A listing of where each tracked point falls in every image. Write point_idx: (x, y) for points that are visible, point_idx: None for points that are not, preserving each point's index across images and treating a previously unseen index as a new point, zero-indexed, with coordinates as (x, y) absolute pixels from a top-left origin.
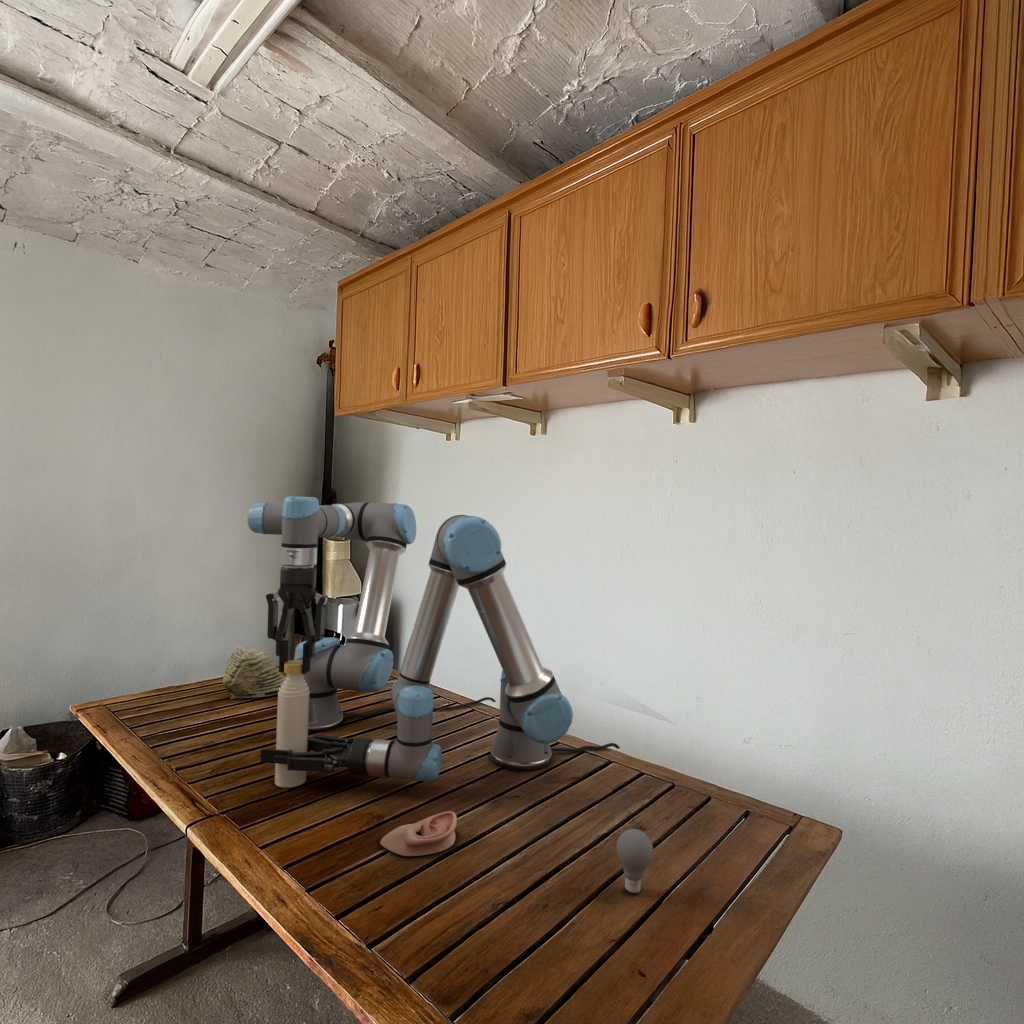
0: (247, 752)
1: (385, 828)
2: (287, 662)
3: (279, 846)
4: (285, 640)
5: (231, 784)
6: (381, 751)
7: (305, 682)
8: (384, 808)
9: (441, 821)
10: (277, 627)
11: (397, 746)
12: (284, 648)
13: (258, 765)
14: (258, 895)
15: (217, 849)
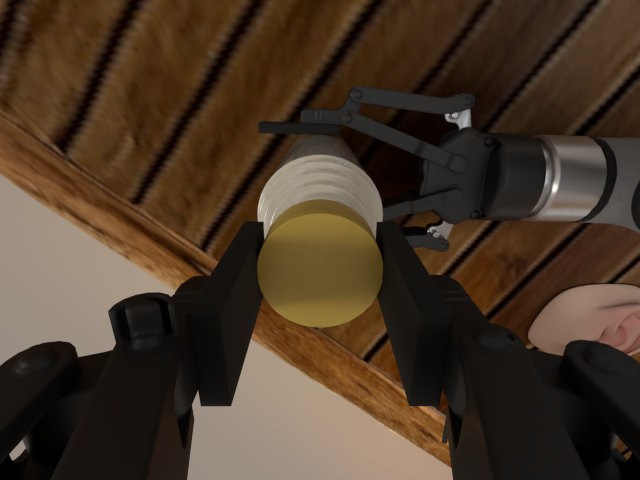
0: (141, 17)
1: (531, 295)
2: (274, 278)
3: (388, 354)
4: (196, 325)
5: (214, 195)
6: (571, 217)
7: (357, 186)
8: (525, 237)
9: (637, 312)
10: (6, 434)
11: (622, 212)
12: (240, 347)
13: (214, 94)
14: (401, 431)
15: (311, 370)
